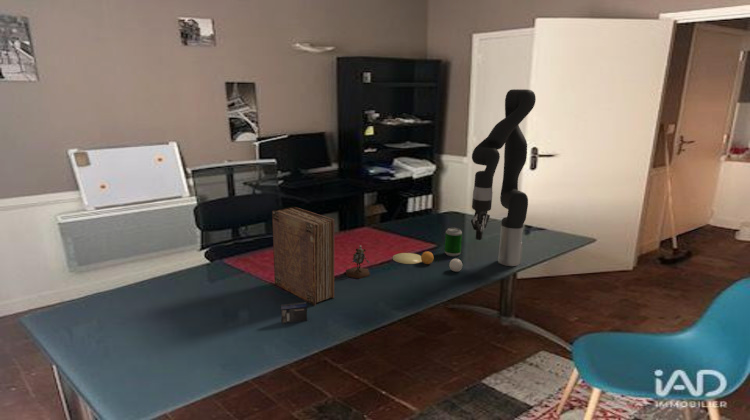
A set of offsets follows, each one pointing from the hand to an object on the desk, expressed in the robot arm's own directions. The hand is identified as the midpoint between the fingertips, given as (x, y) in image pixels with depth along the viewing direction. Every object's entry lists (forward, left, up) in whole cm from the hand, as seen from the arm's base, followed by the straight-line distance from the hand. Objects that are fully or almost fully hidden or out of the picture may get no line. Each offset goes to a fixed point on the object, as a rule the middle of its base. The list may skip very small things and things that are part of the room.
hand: (478, 239), depth 197 cm
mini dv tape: (+80, +5, -17) cm, 82 cm away
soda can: (-8, -26, -16) cm, 32 cm away
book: (+69, -16, -17) cm, 73 cm away
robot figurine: (+43, -24, -17) cm, 52 cm away
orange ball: (+10, -21, -13) cm, 27 cm away
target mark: (+14, -30, -16) cm, 37 cm away
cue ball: (+4, -9, -13) cm, 16 cm away
